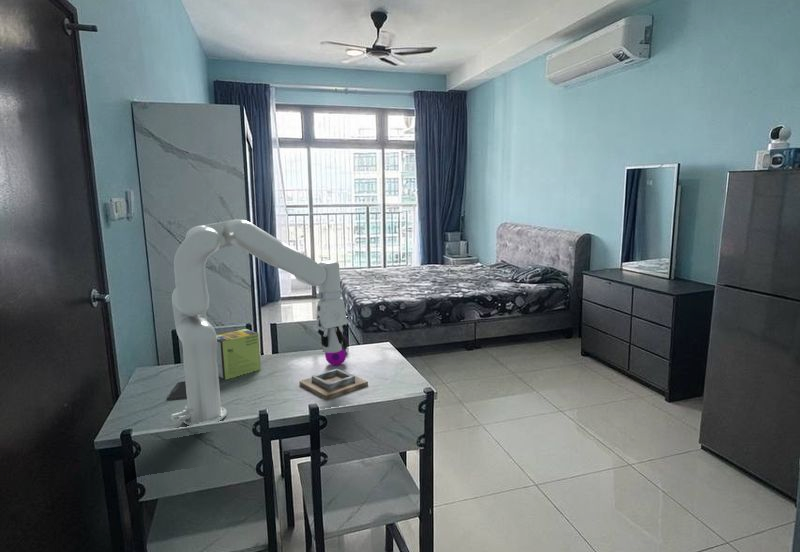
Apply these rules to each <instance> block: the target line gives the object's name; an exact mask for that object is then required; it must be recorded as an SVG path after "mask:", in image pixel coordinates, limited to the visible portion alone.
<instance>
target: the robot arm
mask: <svg viewBox="0 0 800 552" xmlns="http://www.w3.org/2000/svg"><path fill="white" fill-rule="evenodd" d="M234 246H236V247H238V248H240V249H242V250H243V251H245V252H246V253H249V254H251V255H252V256H254V257H255V258H257V259H259V260H260V261H263V262H264V263H266V264H267V265H270V266H272V267H275V268H276V269H280V270H283V271H285V272H288V273H290V274H291V275H293V276H294V277H295V279H296V280H297V281H299V282H300V283H303V284H306V285H309V286H312V287H318V293H317V294H316V298H317V299H318V300H317V305H316V321H315V323H314V325H313V326H312V330H313V331H315V332H316V333H318V335H320V338H321V340H320V343H321V346H322V347H324V346H325V347H328V336H327V332H328V329H329V328H334V327H336V330H337V331H336V335H337V337H338V340H339V343H340V344H341V343H342V335H343V333H344V329H346V326H347V325H348V323H349V322H350V320H349V319H348V318H347V314H346V313H347V312H346V307H345V302H344V298H343V297H341V277H340V275H341V274H340V264H339V262H338V261H336V260H330V259H329V260H322V261H315V260H314V259H312V258H311V257H309V256H308V255H305V254H304V253H302V252H300V251H299V250H297V249H295V248H293V247H291V246H290V245H288V244H287V243H285V242H283V241H281V240H279V239H278V238H276V237H274V236H273V235H271V234H270V233H268V232H267V231H265V230H263V229H262V228H260V227H258V226H257V225H255V224H253V223H252V222H250V221H248V220H246V219H238V218H237V219H230V220H229V219H228V220H225V221H221V222H215V223H208V224H202V225H196V226H192V227H191V228H190V229H189V230H188V231H187V232H186V234H185V239H184V240H183V241H182V243H180V245H179V246H178V248H177V250H176V252H175V254H174V259H173V271H174V272H173V273H174V281H175V288H174V289H173V292H172V294H171V305H172V306H171V307H172V313H173V317H174V318H173V319H174V325H175V330H176V334H177V336H178V338H179V341H180V342H181V344H182V352H183V353H182V354H183V358H182V359H183V370H184V381H185V383H186V394H187V399H186V401H187V403H186V404H187V405H184V409H182V410H181V411H180V412H174V413H172V414H171V415H170V418H171V421H176V420H178V421H179V422H182V421H183V424H184V423H185V424H187V425H193V424H199V422H203V421H207V420H209V421H210V420H213V419H220V418H223V417H225V416H226V417H227V415H228V412H227V409H226V408H225V407H223V406H222V404H221V401H222V400H221V392H220V391H221V389H220V379H219V378H220V377H219V376H218V365H217V335H218V334H217V332H216V330H215V327H214V326H213V325H212V324H211V323H210V322H209V321H208V316H207V310H208V309H209V306H210V303H211V302H210V295H209V291H208V282H207V273H206V264H207V262H208V259H209V258H210V256H212V255H213V254H214V253H216V252H217V251H218V250H219V249H220V250H221V249H226V248H230V247H234ZM226 417H225V418H226ZM185 424H184V425H185ZM187 425H186V426H187Z"/></svg>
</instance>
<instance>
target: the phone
mask: <svg viewBox="0 0 800 552" xmlns="http://www.w3.org/2000/svg"><path fill="white" fill-rule="evenodd" d="M179 398H187V394H186V383H185V380H184V381H179V382H177V383H176V384H175V385H174V387H173V388H172V389H171V391H170V392H169V393H168V395H167V396H166V400H167V399H176V400H177V399H179Z"/></svg>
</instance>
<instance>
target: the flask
mask: <svg viewBox="0 0 800 552" xmlns="http://www.w3.org/2000/svg"><path fill="white" fill-rule="evenodd" d="M326 336H328V347H325V346H322V347H323V348H322V352H323V353H326V352H327V353H336V352H339V351H341V350H342V347H341V345H340V343H339V340H338V337H337V335H336V331H335V327H334V328H329V329H328V330H327V335H326Z"/></svg>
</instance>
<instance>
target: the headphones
mask: <svg viewBox="0 0 800 552" xmlns="http://www.w3.org/2000/svg"><path fill="white" fill-rule="evenodd" d="M335 331H337V330H336V327H335ZM340 345H341V347H342V350H341V351H339V352H336V353H327V352H324V353H325V354H324V355H325V360H326V361H327V362H328V363H329V364H330V365H332V366H340V365H341V364H343V363H344V362H345V361H346V358H347V354H348V353H347V348H348V346H349V341H348V337H346V336H345V335H344V334H342V343H341V344H340Z"/></svg>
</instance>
